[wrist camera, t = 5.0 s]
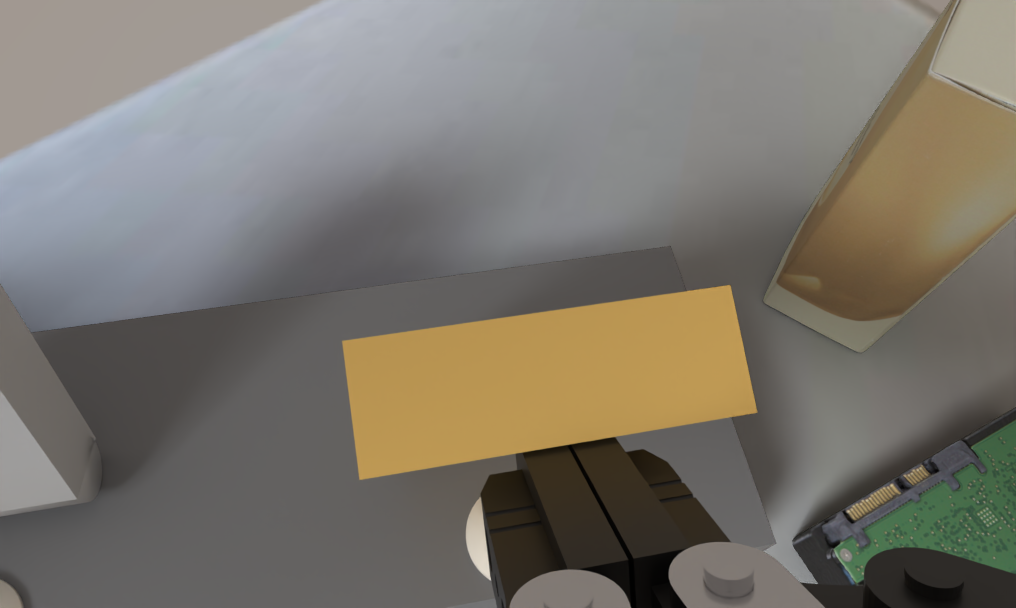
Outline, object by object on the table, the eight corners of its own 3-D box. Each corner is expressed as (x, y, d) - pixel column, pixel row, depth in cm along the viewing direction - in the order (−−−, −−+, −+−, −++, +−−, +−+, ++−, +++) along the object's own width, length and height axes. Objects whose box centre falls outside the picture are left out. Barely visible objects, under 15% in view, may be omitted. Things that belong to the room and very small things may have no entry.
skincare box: (811, 200, 31) (987, -67, 21) (910, 246, 30) (1148, -8, 20) (755, 308, 28) (924, 66, 18) (861, 364, 27) (1109, 141, 17)
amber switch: (396, 454, 21) (359, 480, 10) (387, 385, 21) (342, 340, 11) (596, 421, 22) (757, 412, 11) (584, 355, 22) (730, 284, 11)
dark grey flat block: (-231, 759, 20) (-391, 769, 16) (-142, 418, 25) (-249, 366, 21) (730, 568, 23) (779, 542, 20) (645, 304, 28) (671, 242, 25)
